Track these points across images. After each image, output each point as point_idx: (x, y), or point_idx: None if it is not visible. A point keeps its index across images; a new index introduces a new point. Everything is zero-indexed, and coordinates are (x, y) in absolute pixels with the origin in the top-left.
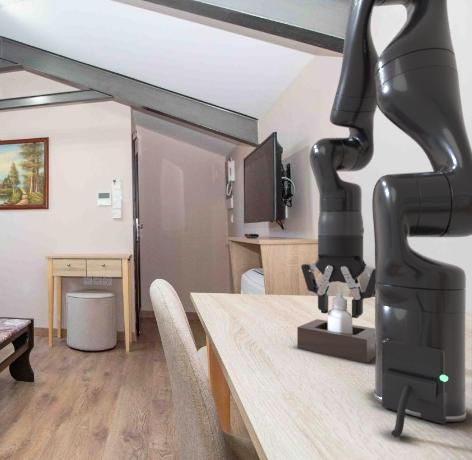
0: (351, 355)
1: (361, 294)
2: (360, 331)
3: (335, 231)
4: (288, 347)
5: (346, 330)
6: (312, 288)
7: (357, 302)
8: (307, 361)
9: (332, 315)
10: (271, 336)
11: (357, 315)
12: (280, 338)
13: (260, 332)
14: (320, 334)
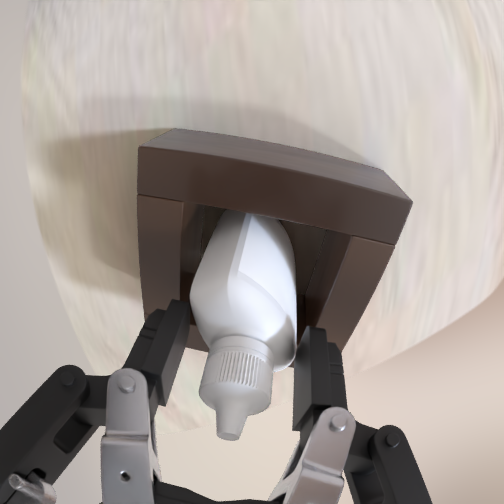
0: (211, 136)
1: (106, 399)
2: None
3: None
4: (408, 166)
5: (220, 243)
6: (382, 443)
7: (142, 364)
8: (337, 21)
9: (274, 305)
10: (444, 271)
11: (165, 310)
12: (423, 264)
13: (463, 294)
14: (318, 171)
